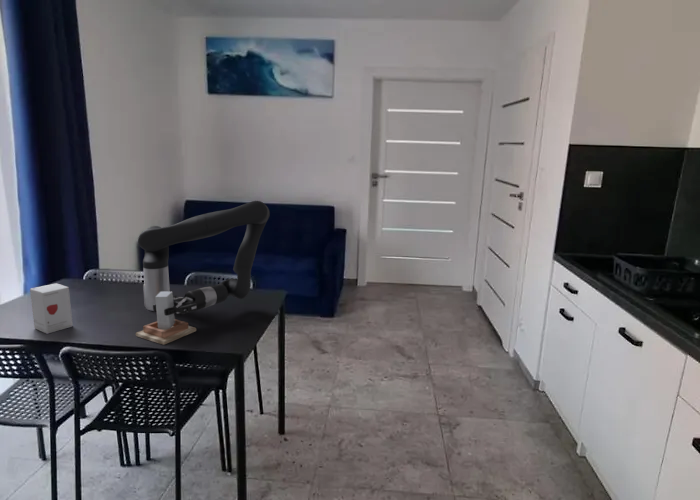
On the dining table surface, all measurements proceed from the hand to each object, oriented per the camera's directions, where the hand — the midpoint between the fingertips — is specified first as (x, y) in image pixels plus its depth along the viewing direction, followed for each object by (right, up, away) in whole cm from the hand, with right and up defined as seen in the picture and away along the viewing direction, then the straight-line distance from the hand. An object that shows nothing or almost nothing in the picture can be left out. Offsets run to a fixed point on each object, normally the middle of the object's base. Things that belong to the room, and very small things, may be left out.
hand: (159, 310), depth 156 cm
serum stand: (+1, -9, +4) cm, 10 cm away
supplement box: (-40, -7, +6) cm, 42 cm away
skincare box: (+1, -6, +3) cm, 7 cm away
